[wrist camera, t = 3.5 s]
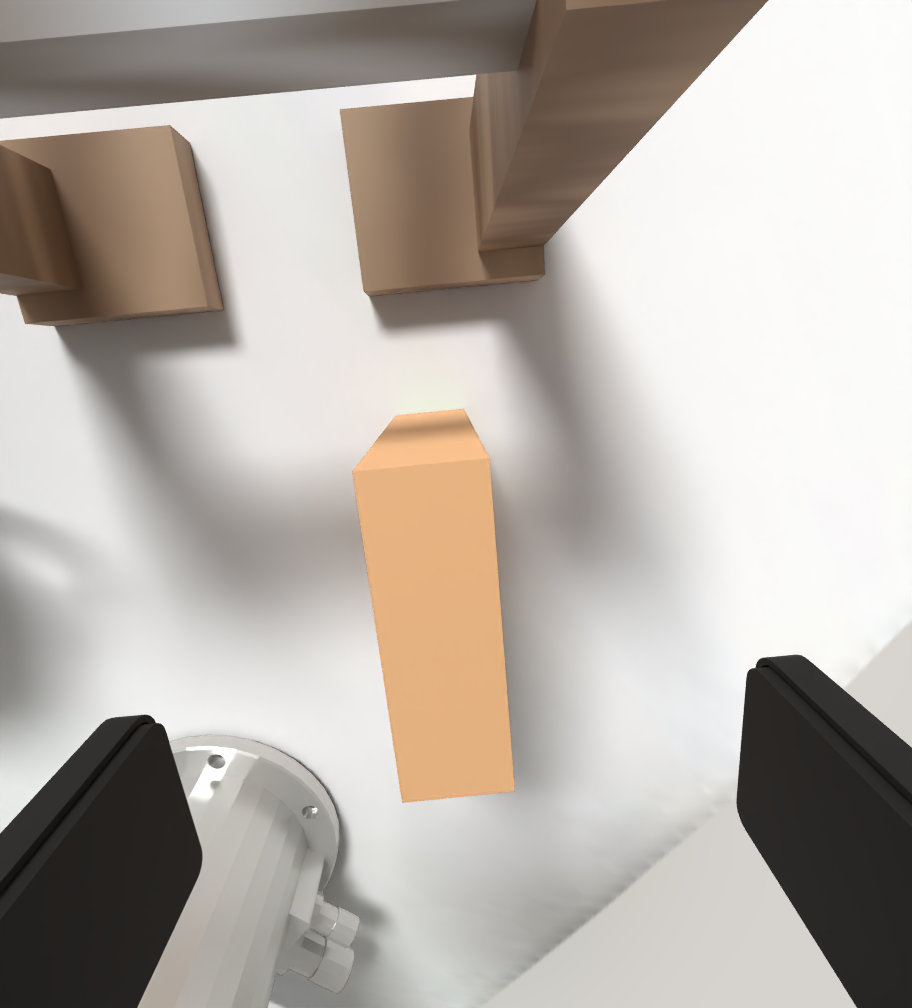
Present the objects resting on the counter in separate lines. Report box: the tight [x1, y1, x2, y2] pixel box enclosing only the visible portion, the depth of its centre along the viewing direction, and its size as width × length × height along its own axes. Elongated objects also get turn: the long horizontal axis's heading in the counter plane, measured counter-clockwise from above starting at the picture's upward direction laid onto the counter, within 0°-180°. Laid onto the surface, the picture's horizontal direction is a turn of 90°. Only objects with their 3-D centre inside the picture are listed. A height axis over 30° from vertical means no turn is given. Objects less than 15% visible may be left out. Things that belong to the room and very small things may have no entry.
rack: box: [0, 0, 768, 326], centre depth 13 cm, size 20×6×16 cm, turn 95°
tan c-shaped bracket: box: [352, 409, 515, 803], centre depth 18 cm, size 3×9×12 cm, turn 5°
